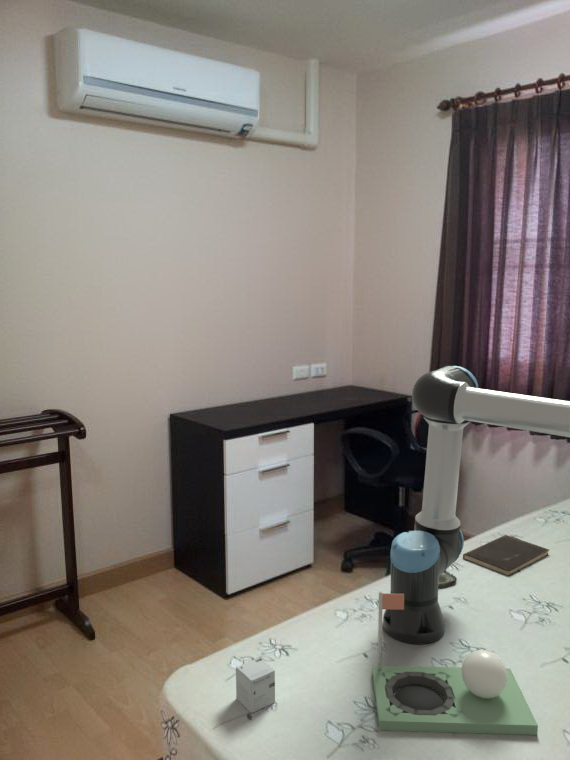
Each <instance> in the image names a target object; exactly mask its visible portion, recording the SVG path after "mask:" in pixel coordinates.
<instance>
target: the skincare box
mask: <svg viewBox="0 0 570 760" xmlns="http://www.w3.org/2000/svg"><path fill="white" fill-rule="evenodd" d="M275 672H276V670H275V669H274V668H273V667H271V666H270V664H268V663H267V662H266V661H264V660H263V658H261V657H257V658H255V659H253V660H249V661H247V662H244V663H242V664H240V665H238V666H235V690H236V691H235V699H236V700H237V701H238V702H239V703H240V704H241V705H242V706H243V707H244V708H245V709H246V710H247V711H248V712H249V713H251V714H253V713H255V712H257V711H259V710H262V709H263V708H266V707H268V706H271V705H274V704H275V703H276V677H275V676H276V675H275V674H276V673H275Z"/></svg>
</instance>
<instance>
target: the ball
mask: <svg viewBox="0 0 570 760" xmlns="http://www.w3.org/2000/svg"><path fill="white" fill-rule="evenodd" d="M461 667H462V669H461V674H462V679H463V682H464V684H465V686H466V687H467V688H468V690H469V691H470V692H471V693H473V694H474V695H476V696H478V697H481V698H486V699H489V698H494V697H496V696H498V695H500V694H501V693H502V692H503V690H504V689H505V687H506V684H507V670H506V669H507V668H506V666H505V663H504V662H503V661H502V659H501V658H500V657H499V656H498V655H497V654H496V653H493V651H489V650H485V649H480V650H479V649H478V650H474V651H472V652H470V653H469V654H467V655H466V657H465V658H464V660H463V662H462V664H461Z"/></svg>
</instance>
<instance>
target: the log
mask: <svg viewBox="0 0 570 760" xmlns="http://www.w3.org/2000/svg"><path fill="white" fill-rule="evenodd" d="M456 582H457V576H455V575H454V573H450V572H447V569H446V570H445V571H444V572H443V573H442V574H441V575H440V576H439V580H438V589H444V588H448V587H452V586H453V585H455V583H456Z"/></svg>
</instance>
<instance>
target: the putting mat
mask: <svg viewBox="0 0 570 760" xmlns="http://www.w3.org/2000/svg"><path fill="white" fill-rule="evenodd" d="M386 609H394V610H404V594H391V593H385V592H384V593H383V591H379V592H378V617H377V618H378V624H377V625H378V627H377V629H378V631H377V634H378V635H377V639H378V640H377V645H378V646H377V665H375V664H374V665H372V667H371V669H372V670H371V674H372V682H373V689H374V698H375V707H376V712H377V713H376V714H377V722H378V728H379V731H391V732H392V731H393V732H395V731H398V732H426V733H427V732H429V733H430V732H431V733H438V732H439V733H460V734H461V733H462V734H463V733H464V734H465V733H466V734H468V733H469V734H493V735H495V734H497V735H498V734H499V735H526V736H528V735H532V736H538V734H539V733H538V730H539V729H538V728H539V725H538V722H537V721H536V718H535V717H534V715H533V712H532V710H531V709H530V706H529V705H528V703H527V701H526V698H525V696H524V694H523V692H522V689H521V688H520V686H519V684H518V682H517V680H516V678H515V676H514V673H513V672H512V670H511V668H506V670H507V684H506V687H505V689H504V690H503V692H502V693H501V694H500V695H498V696H496V697H494V698H489V699H486V698H481V697H478V696H476V695H474V694H473V693H471V692H470V691H469V690H468V688H467V687H466V686H465V684H464V682H463V679H462V674H461V669H462V666H461V667H459V666H458V667H457V666H456V667H454V666H453V667H451V666H416V665H409V666H408V665H383V662H382V659H383V657H382V655H383V610H386ZM397 689H398V690H397ZM394 693H395V694H394ZM443 697H444V698H443Z"/></svg>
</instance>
